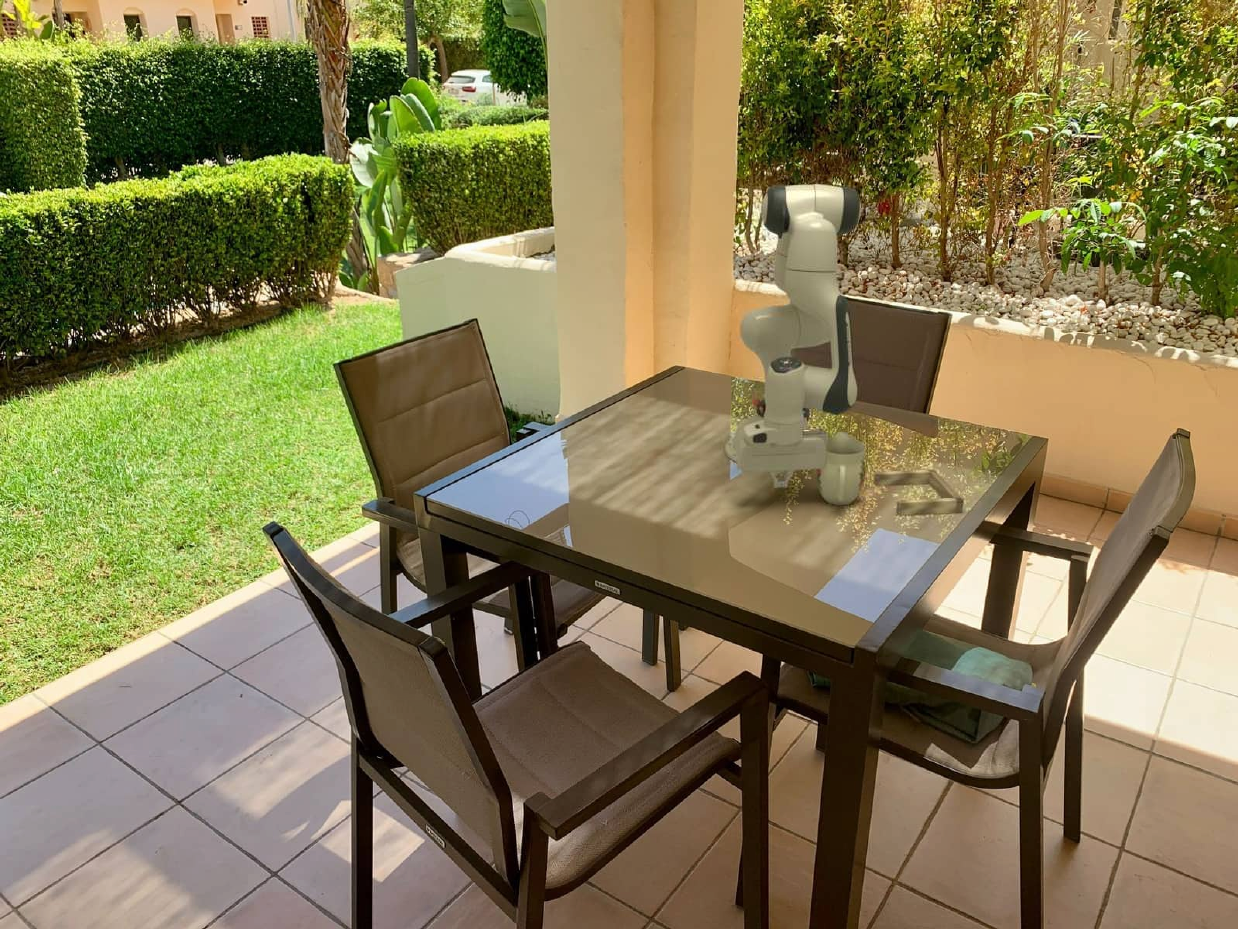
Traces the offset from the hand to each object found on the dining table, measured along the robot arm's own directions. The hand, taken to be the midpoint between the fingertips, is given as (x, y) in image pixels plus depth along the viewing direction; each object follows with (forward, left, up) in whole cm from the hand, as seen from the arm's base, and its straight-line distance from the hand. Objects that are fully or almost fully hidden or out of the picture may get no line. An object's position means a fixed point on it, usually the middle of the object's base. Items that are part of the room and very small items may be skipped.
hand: (780, 486), depth 213 cm
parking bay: (+32, 0, -4) cm, 32 cm away
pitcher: (+14, 0, -4) cm, 14 cm away
